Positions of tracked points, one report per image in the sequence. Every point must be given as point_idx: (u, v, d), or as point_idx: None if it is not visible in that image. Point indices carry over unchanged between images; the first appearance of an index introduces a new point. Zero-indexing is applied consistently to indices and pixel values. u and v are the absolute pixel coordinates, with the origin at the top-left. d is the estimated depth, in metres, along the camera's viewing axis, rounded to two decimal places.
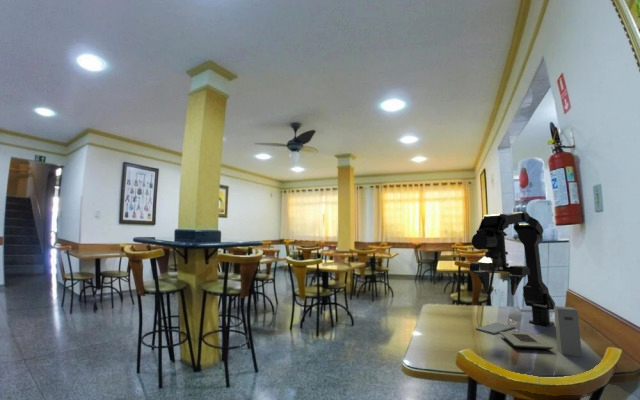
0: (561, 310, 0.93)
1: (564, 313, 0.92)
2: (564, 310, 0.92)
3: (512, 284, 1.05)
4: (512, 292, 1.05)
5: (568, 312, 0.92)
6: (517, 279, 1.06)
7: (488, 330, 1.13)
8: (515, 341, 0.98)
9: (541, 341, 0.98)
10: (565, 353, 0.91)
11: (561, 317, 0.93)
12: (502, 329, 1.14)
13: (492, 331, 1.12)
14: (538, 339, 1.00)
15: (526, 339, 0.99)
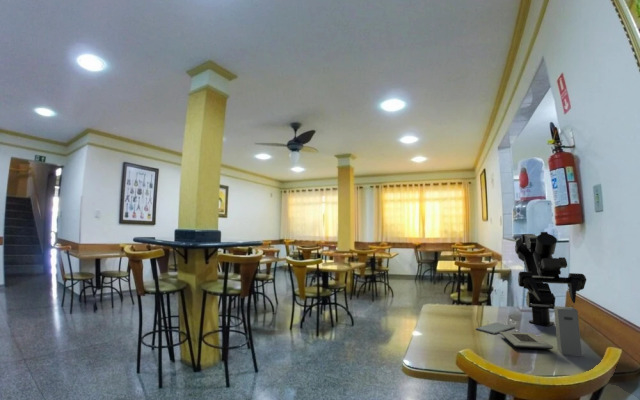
0: (561, 310, 0.93)
1: (564, 313, 0.92)
2: (564, 310, 0.92)
3: (574, 290, 1.01)
4: (574, 298, 1.00)
5: (568, 312, 0.92)
6: None
7: (488, 330, 1.13)
8: (515, 341, 0.98)
9: (541, 341, 0.98)
10: (565, 353, 0.91)
11: (561, 317, 0.93)
12: (502, 329, 1.14)
13: (492, 331, 1.12)
14: (538, 339, 1.00)
15: (526, 339, 0.99)
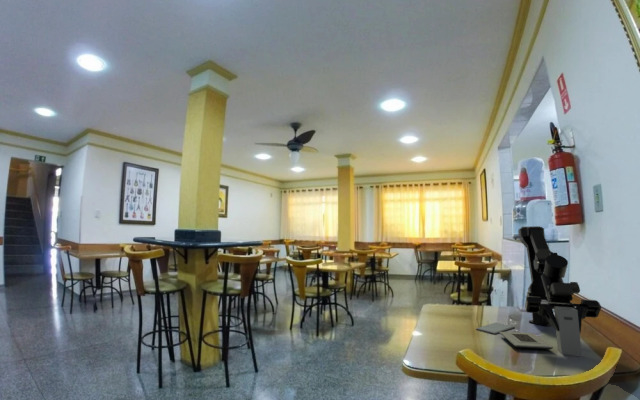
0: (561, 310, 0.93)
1: (564, 313, 0.92)
2: (564, 310, 0.92)
3: (579, 318, 0.93)
4: (579, 328, 0.91)
5: (568, 312, 0.92)
6: None
7: (488, 330, 1.13)
8: (515, 341, 0.98)
9: (541, 341, 0.98)
10: (565, 353, 0.91)
11: (561, 317, 0.93)
12: (502, 329, 1.14)
13: (492, 331, 1.12)
14: (538, 339, 1.00)
15: (526, 339, 0.99)
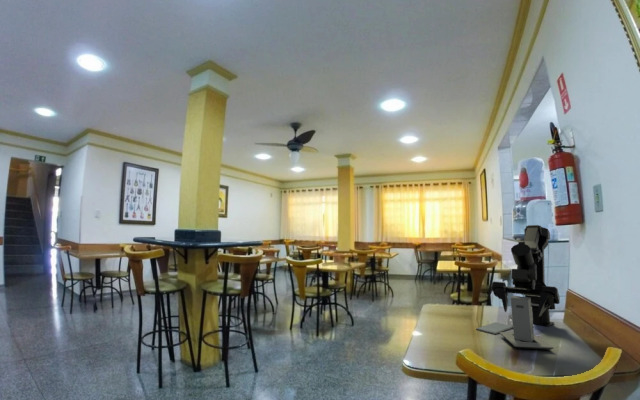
0: (513, 299, 1.01)
1: (516, 301, 1.00)
2: (516, 299, 1.00)
3: (541, 303, 0.98)
4: (539, 312, 0.97)
5: (520, 301, 1.00)
6: (545, 303, 0.99)
7: (489, 330, 1.13)
8: (515, 341, 0.98)
9: (541, 341, 0.98)
10: (517, 338, 0.99)
11: (513, 305, 1.01)
12: (502, 329, 1.14)
13: (493, 331, 1.12)
14: (538, 339, 1.00)
15: None
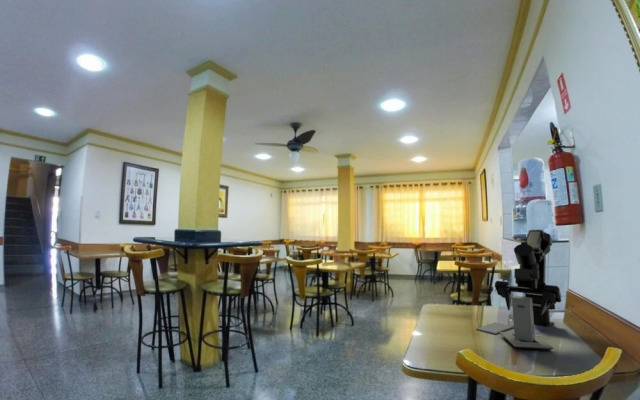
0: (515, 298, 1.01)
1: (517, 301, 1.00)
2: (518, 299, 1.00)
3: (543, 302, 1.01)
4: (541, 310, 1.00)
5: (521, 301, 1.00)
6: (547, 302, 1.02)
7: (489, 330, 1.13)
8: (515, 341, 0.98)
9: (541, 342, 0.98)
10: (518, 338, 1.00)
11: (515, 305, 1.01)
12: (502, 329, 1.14)
13: (493, 331, 1.12)
14: (538, 340, 1.00)
15: None
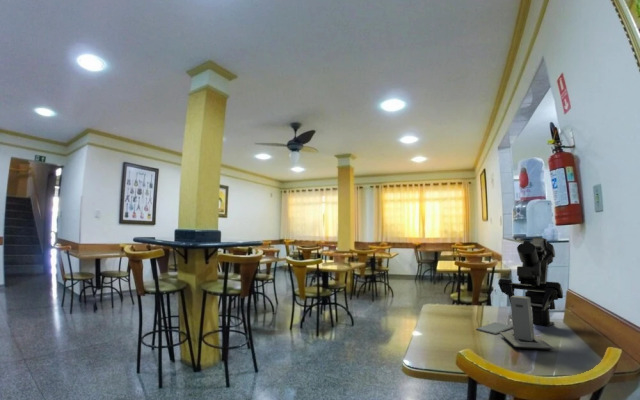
0: (513, 298, 1.02)
1: (516, 301, 1.01)
2: (516, 298, 1.01)
3: (545, 298, 1.04)
4: (543, 306, 1.03)
5: (519, 300, 1.00)
6: (549, 298, 1.06)
7: (489, 330, 1.13)
8: (515, 342, 0.98)
9: (541, 342, 0.98)
10: (517, 337, 1.00)
11: (513, 305, 1.01)
12: (502, 329, 1.14)
13: (493, 331, 1.12)
14: (538, 340, 1.00)
15: (526, 340, 0.99)
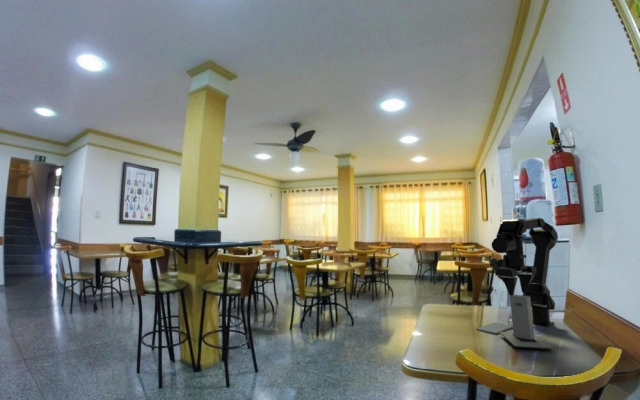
0: (513, 297, 1.03)
1: (515, 299, 1.02)
2: (515, 297, 1.02)
3: None
4: (508, 292, 1.14)
5: (519, 299, 1.01)
6: (510, 281, 1.12)
7: (489, 330, 1.13)
8: (515, 341, 0.98)
9: (541, 342, 0.98)
10: (516, 336, 1.01)
11: (513, 303, 1.03)
12: (502, 329, 1.14)
13: (493, 331, 1.12)
14: (538, 340, 1.00)
15: (526, 339, 0.99)
